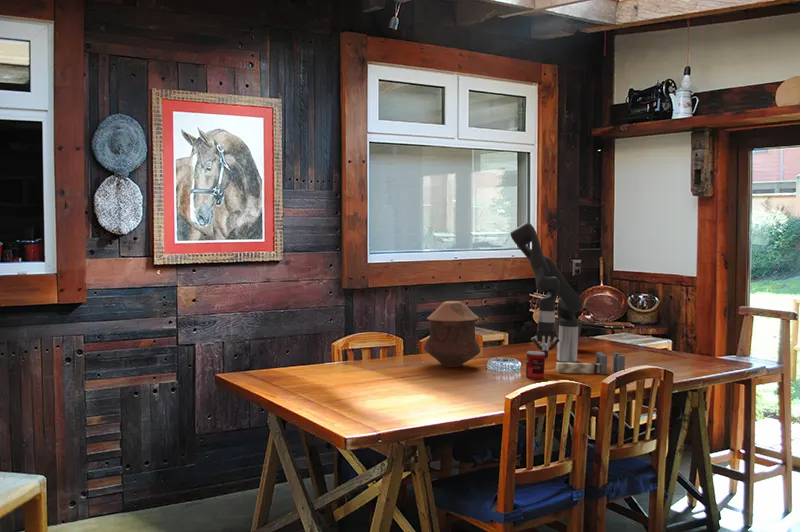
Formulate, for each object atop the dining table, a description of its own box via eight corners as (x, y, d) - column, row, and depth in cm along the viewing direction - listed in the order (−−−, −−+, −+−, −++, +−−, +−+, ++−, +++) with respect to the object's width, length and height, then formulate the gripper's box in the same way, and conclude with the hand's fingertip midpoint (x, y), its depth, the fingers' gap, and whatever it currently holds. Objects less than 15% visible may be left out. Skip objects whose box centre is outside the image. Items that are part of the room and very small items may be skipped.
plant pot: (548, 347, 423) (549, 318, 422) (572, 346, 427) (573, 318, 426) (561, 351, 408) (563, 321, 407) (586, 351, 413) (588, 321, 412)
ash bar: (557, 372, 348) (558, 363, 348) (555, 370, 352) (556, 362, 352) (602, 373, 349) (602, 364, 348) (599, 371, 353) (599, 363, 353)
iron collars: (600, 374, 346) (601, 355, 346) (595, 370, 355) (595, 352, 355) (624, 375, 346) (625, 356, 346) (617, 371, 356) (618, 352, 355)
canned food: (531, 375, 340) (532, 350, 340) (547, 377, 335) (548, 352, 335) (522, 377, 334) (523, 352, 334) (538, 380, 329) (539, 354, 329)
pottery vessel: (489, 365, 360) (491, 301, 359) (462, 373, 339) (464, 305, 338) (442, 359, 375) (443, 297, 373) (413, 366, 354) (414, 300, 352)
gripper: (533, 321, 345) (531, 359, 346) (562, 322, 346) (560, 360, 346) (530, 319, 353) (528, 356, 354) (559, 320, 353) (557, 357, 354)
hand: (544, 358), depth 350 cm, fingers closed
